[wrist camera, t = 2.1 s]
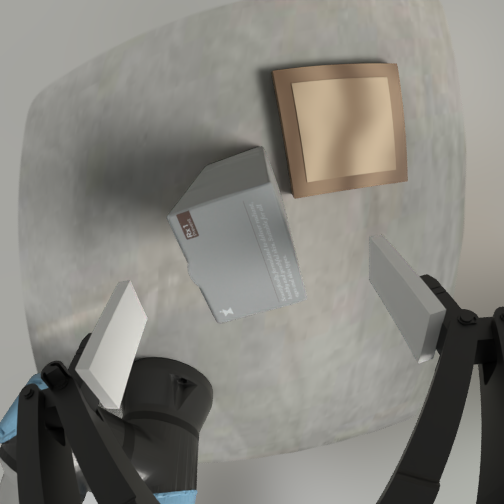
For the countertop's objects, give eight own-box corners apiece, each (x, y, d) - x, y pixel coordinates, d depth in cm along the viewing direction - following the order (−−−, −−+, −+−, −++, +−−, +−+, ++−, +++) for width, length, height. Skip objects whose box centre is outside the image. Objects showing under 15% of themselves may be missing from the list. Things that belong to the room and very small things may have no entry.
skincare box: (287, 214, 34) (322, 302, 19) (224, 235, 34) (217, 333, 20) (262, 140, 30) (286, 177, 16) (195, 164, 31) (160, 221, 16)
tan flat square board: (292, 194, 32) (294, 198, 31) (271, 72, 26) (272, 70, 25) (401, 177, 32) (407, 181, 30) (390, 64, 26) (397, 63, 25)
